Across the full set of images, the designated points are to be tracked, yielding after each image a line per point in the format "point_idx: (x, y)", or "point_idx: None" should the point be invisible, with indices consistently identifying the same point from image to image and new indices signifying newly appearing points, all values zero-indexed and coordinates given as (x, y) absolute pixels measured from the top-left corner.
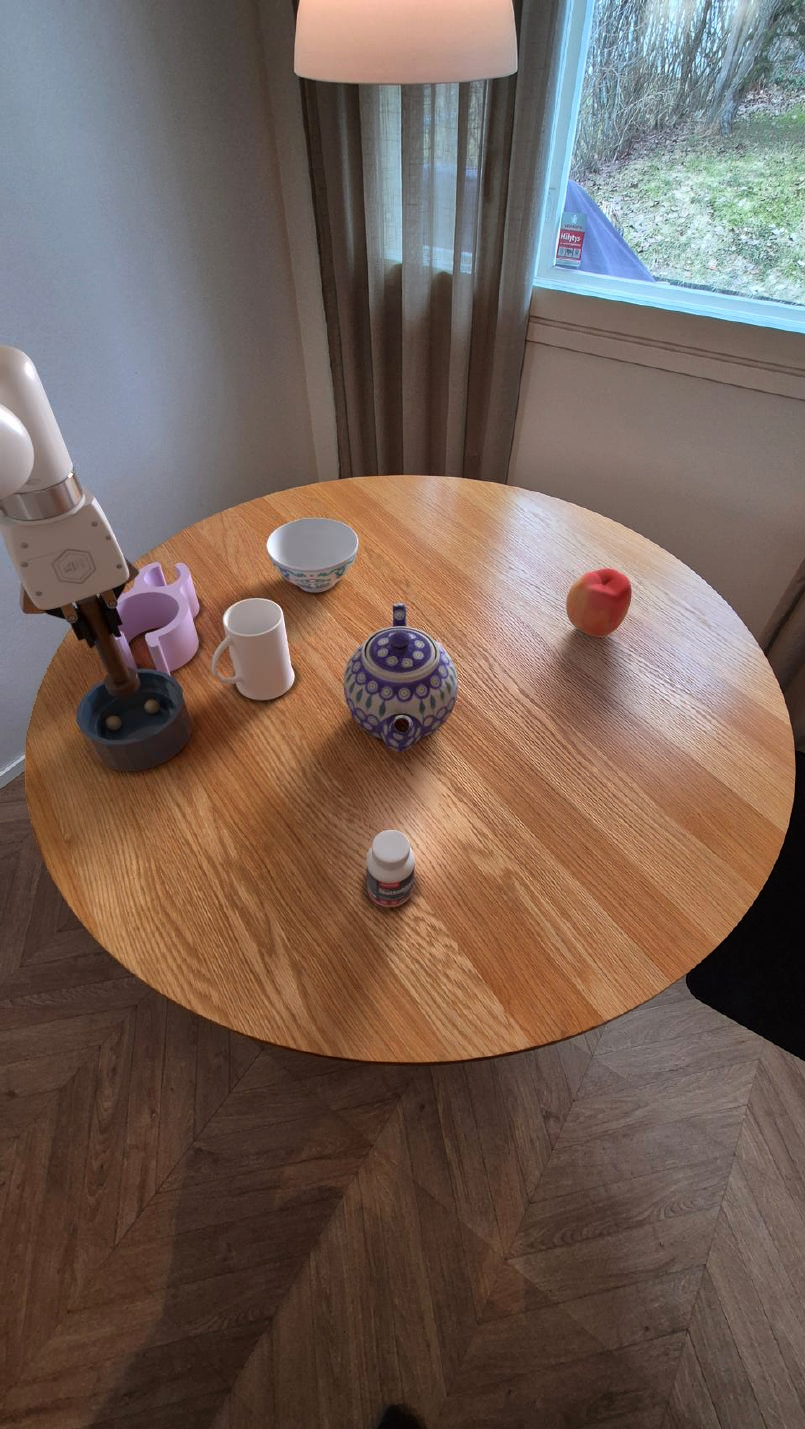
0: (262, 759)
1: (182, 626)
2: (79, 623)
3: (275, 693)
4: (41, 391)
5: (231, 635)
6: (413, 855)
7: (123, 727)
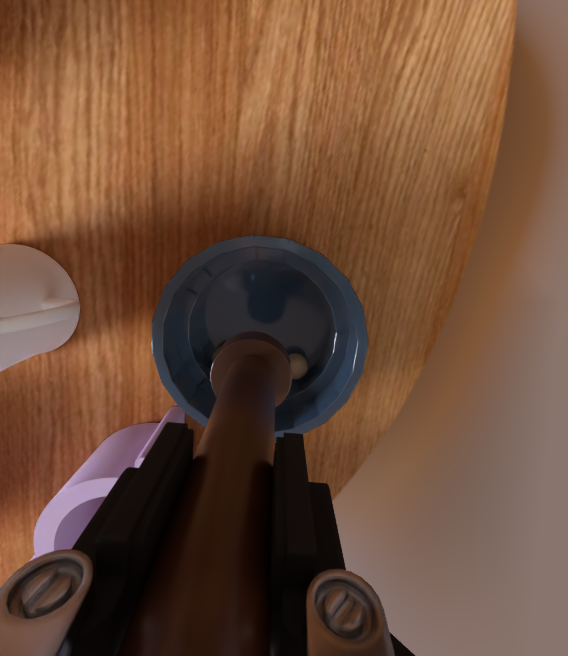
0: (116, 123)
1: (76, 479)
2: (312, 547)
3: (17, 247)
4: None
5: None
6: None
7: None
